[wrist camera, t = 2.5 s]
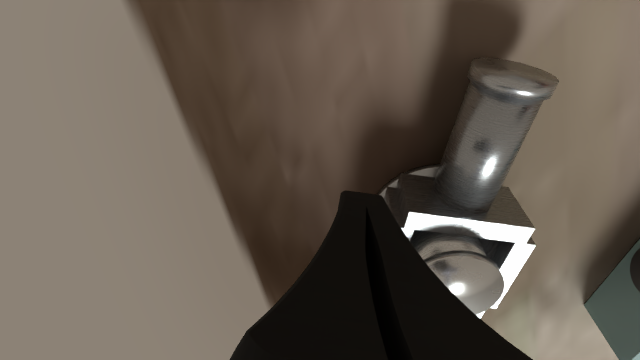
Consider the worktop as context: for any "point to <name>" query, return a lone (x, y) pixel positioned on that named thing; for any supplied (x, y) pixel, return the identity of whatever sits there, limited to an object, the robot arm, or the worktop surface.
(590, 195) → the worktop surface
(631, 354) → the pale teal rectangular bar
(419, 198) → the elbow
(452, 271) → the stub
